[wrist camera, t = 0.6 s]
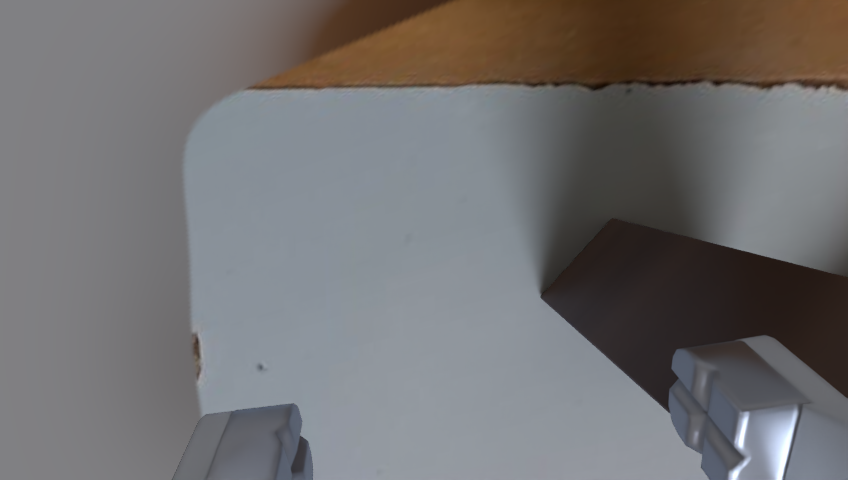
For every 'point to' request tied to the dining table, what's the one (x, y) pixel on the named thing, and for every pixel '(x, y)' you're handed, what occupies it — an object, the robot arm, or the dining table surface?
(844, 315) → the shelf post
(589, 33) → the dining table surface
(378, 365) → the dining table surface
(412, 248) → the dining table surface
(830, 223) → the dining table surface
